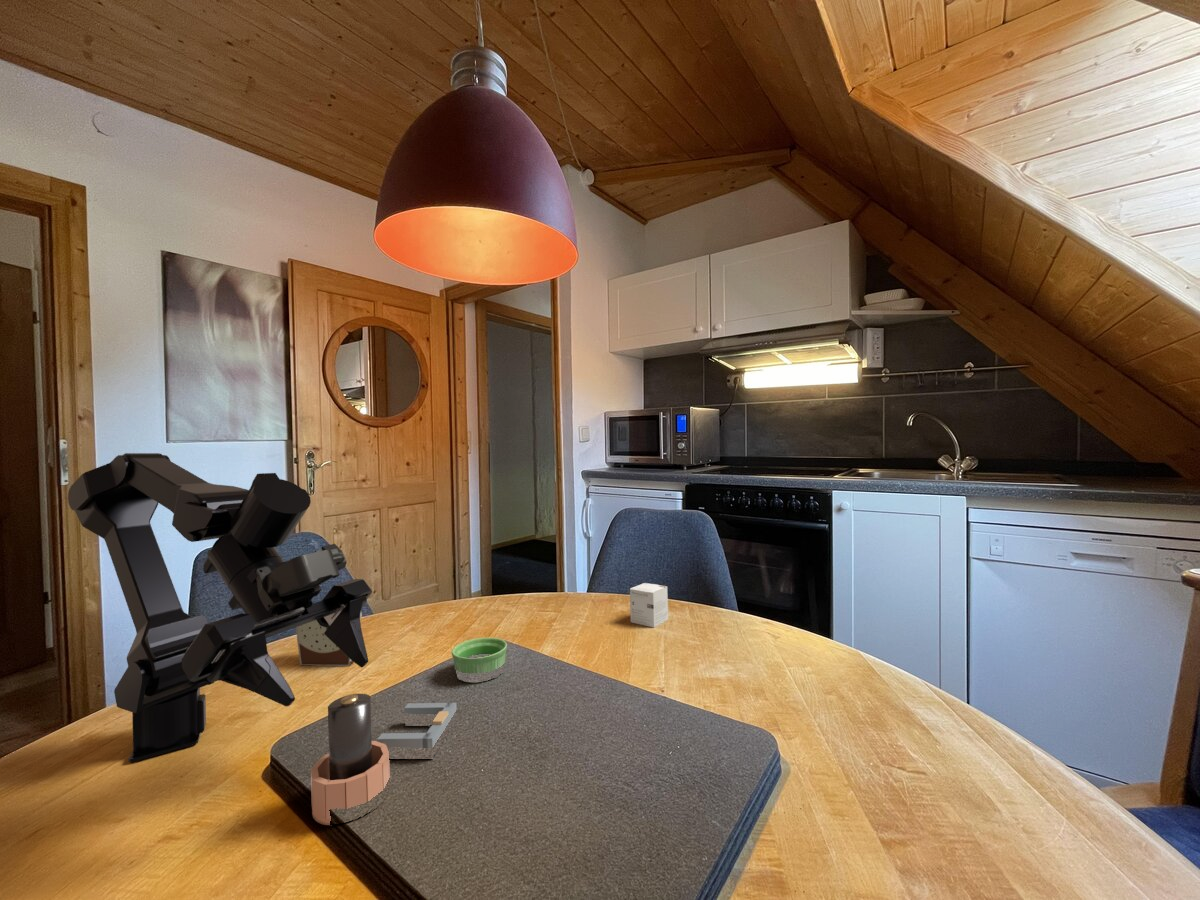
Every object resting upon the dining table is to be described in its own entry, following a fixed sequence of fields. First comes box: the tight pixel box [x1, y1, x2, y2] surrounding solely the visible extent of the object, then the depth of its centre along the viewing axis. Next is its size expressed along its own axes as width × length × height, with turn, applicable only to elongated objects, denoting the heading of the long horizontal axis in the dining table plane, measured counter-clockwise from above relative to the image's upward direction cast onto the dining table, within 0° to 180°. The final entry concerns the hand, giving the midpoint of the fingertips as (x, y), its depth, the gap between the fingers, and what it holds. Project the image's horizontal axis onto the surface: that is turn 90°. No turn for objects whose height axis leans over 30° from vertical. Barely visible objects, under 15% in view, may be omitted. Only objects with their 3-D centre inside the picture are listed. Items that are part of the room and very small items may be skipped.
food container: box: [295, 611, 363, 667], centre depth 89 cm, size 12×6×10 cm, turn 84°
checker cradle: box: [376, 702, 458, 748], centre depth 61 cm, size 7×8×3 cm
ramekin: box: [451, 637, 508, 674], centre depth 81 cm, size 9×9×4 cm
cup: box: [310, 740, 391, 826], centre depth 51 cm, size 7×7×4 cm
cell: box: [327, 693, 373, 780], centre depth 51 cm, size 4×4×10 cm
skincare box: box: [629, 582, 669, 628], centre depth 103 cm, size 6×6×7 cm
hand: (331, 682), depth 52 cm, fingers open, 9 cm apart
